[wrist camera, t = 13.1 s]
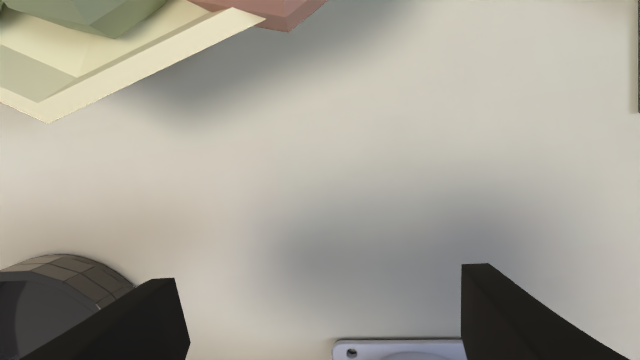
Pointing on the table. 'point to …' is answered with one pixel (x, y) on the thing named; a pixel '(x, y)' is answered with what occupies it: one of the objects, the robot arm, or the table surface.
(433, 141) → the table surface
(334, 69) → the table surface
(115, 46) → the dish with food
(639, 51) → the cloth
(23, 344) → the bowl
